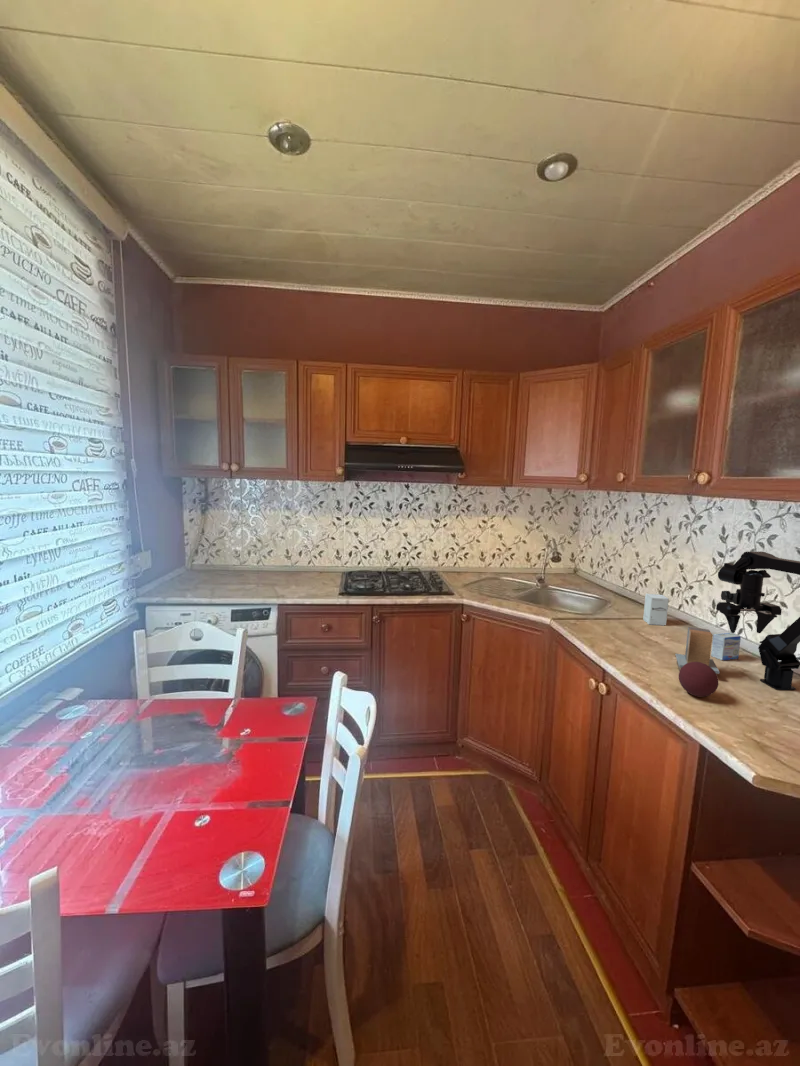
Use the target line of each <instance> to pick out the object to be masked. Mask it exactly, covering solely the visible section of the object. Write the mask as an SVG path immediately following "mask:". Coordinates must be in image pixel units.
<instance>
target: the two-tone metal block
mask: <svg viewBox="0 0 800 1066" xmlns="http://www.w3.org/2000/svg"><path fill="white" fill-rule="evenodd" d="M712 642H713V634H712V632H711V630H710V629H707V628H699V627H693V626H692V627H691V626H687V635H686V645H685V653H684V655H685V659H686V661H687V663H690V662H701V663H704V664H706V665H708V666H709V661H710V659H711V652H712Z"/></svg>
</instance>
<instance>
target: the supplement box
mask: <svg viewBox="0 0 800 1066" xmlns="http://www.w3.org/2000/svg"><path fill="white" fill-rule="evenodd" d="M669 601H670V598H668V597H667V596H665V595H664V594H656V593H655V594H654V593H645V597H644V606H643V617H642V620H643V621H644V622H647V623H646V624H647V625H652V626H653V625H655V626H656V625H657V626H664V625H667V619H668V609H669Z"/></svg>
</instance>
